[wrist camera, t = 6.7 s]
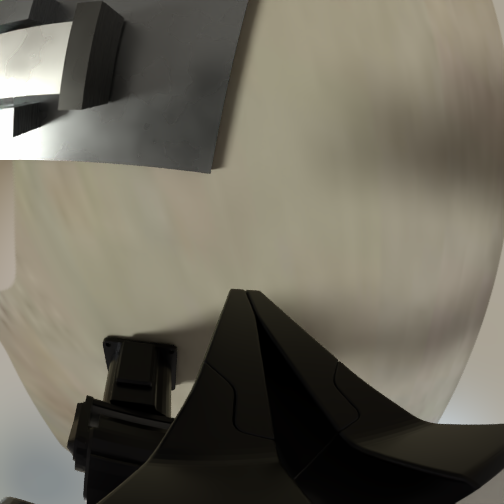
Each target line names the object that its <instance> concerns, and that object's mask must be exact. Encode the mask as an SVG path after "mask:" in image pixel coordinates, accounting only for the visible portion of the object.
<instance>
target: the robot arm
mask: <svg viewBox="0 0 504 504" xmlns="http://www.w3.org/2000/svg"><path fill="white" fill-rule="evenodd" d="M109 343H110V344H109ZM103 348H104V354H105V359H106V364H107V368H108V376H107V381H106V387H105V392H104V398H103V401H101V400H97V399H94V398H93V397H91V396H88V395H87V397H86V401H85V402H84V403H77V408H76V413H75V418H74V422H73V425H72V429H71V432H70V436H69V439H68V445H67V448H68V449H69V451H70V452H71V453H72V455H73V460H74V461H75V470H77V471H80V472H84V473H85V478H84V492H83V496H84V499H85V502H86V503H87V504H504V424H489V425H459V424H458V425H457V424H436V423H430V422H427V421H423V420H421V419H419V418H417V417H415V416H413V415H412V414H410V413H409V412H407V411H406V410H404V409H403V408H401V407H400V406H398V405H397V404H395V403H394V402H393V401H391V400H390V399H388V398H387V397H385V396H384V395H382V394H381V393H380V392H378V391H377V390H375V389H374V388H373V387H371V386H370V385H369V384H367V383H366V382H364V381H363V380H362V379H361V378H359V377H358V376H357V375H356V374H354V373H353V372H352V371H351V370H350V369H348V368H347V367H346V366H345V365H344V364H343V363H341V362H340V361H338V359H337V358H335V357H334V356H333V355H332V354H331V353H330V352H328V351H327V350H326V349H325V348H324V347H323V346H322V345H320V344H319V343H318V342H317V341H316V340H315V339H314V338H312V337H311V336H310V335H309V334H308V333H307V332H306V331H304V330H303V329H302V328H301V327H300V326H299V325H298V324H296V323H295V322H294V321H293V320H292V319H291V318H290V317H289V316H287V315H286V314H285V313H284V312H283V311H282V310H281V309H280V308H278V307H277V306H276V305H275V304H274V303H273V302H272V301H271V300H269V299H268V298H267V297H266V296H265V295H264V294H263V293H262V292H260V291H257V290H246V291H245V290H242V289H231V290H230V291H229V294H228V296H227V299H226V302H225V304H224V307H223V310H222V312H221V315H220V318H219V320H218V323H217V326H216V328H215V331H214V334H213V336H212V339H211V342H210V344H209V347H208V350H207V353H206V355H205V358H204V361H203V363H202V365H201V368H200V371H199V374H198V376H197V378H196V381H195V383H194V385H193V388H192V390H191V392H190V393H189V395H188V397H187V399H186V401H185V403H184V404H183V406H182V408H181V409H180V411H179V413H178V414H177V416H176V418H171V390H174V389H175V383H176V364H177V347H176V346H174V345H169V344H159V343H149V342H140V341H131V340H123V339H115V338H104V340H103ZM171 350H172V351H171ZM0 504H34V503H31V502H27V501H24V500H21V499H17V498H13V497H5V498H4V499H3V500H2V501H1V502H0Z"/></svg>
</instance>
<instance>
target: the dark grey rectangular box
mask: <svg viewBox="0 0 504 504" xmlns="http://www.w3.org/2000/svg"><path fill="white" fill-rule="evenodd" d="M123 22H124V17H122V16H121V15H120V14H119V13H117V12H116V11H115V10H114V9H112V8H111V7H110V6H109V5H107V4H106V3H105V2H103V1H92V2H81V3H77V7H76V10H75V14H74V18H73V21H72V22H63V23H55V24H48V25H41V26H35V27H30V28H25V29H20V30H15V31H10V32H6V33H2V34H0V98H7V97H16V96H27V95H41V94H60V95H59V104H58V110H83V109H87V108H91V107H95V106H100V105H104V104H108V101H109V94H110V87H111V81H112V75H113V69H114V64H115V58H116V53H117V48H118V44H119V39H120V35H121V30H122V26H123Z"/></svg>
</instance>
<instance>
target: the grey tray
mask: <svg viewBox="0 0 504 504" xmlns="http://www.w3.org/2000/svg"><path fill="white" fill-rule="evenodd" d="M92 1H103V2H105V3H106V4H107V5H109V6H110V7H111V8H112V9H114V10H115V11H116V12H117V13H119V14H120V15H121V16H122V17H124V22H123V26H122V30H121V35H120V39H119V44H118V48H117V53H116V58H115V64H114V69H113V75H112V81H111V87H110V94H109V101H108V104H104V105H100V106H95V107H91V108H87V109H83V110H58V104H59V95H60V94H41V95H27V96H16V97H7V98H0V159H24V160H62V161H83V162H99V163H113V164H126V165H137V166H148V167H158V168H167V169H176V170H185V171H193V172H201V173H209V174H211V168H212V162H213V157H214V151H215V146H216V141H217V135H218V130H219V125H220V120H221V115H222V110H223V105H224V101H225V96H226V91H227V86H228V82H229V77H230V73H231V68H232V64H233V60H234V55H235V51H236V47H237V43H238V39H239V35H240V31H241V27H242V23H243V19H244V15H245V11H246V7H247V3H248V0H0V34H2V33H6V32H10V31H15V30H20V29H25V28H30V27H35V26H41V25H48V24H55V23H63V22H72V21H73V18H74V14H75V10H76V7H77V3H81V2H92Z"/></svg>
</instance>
